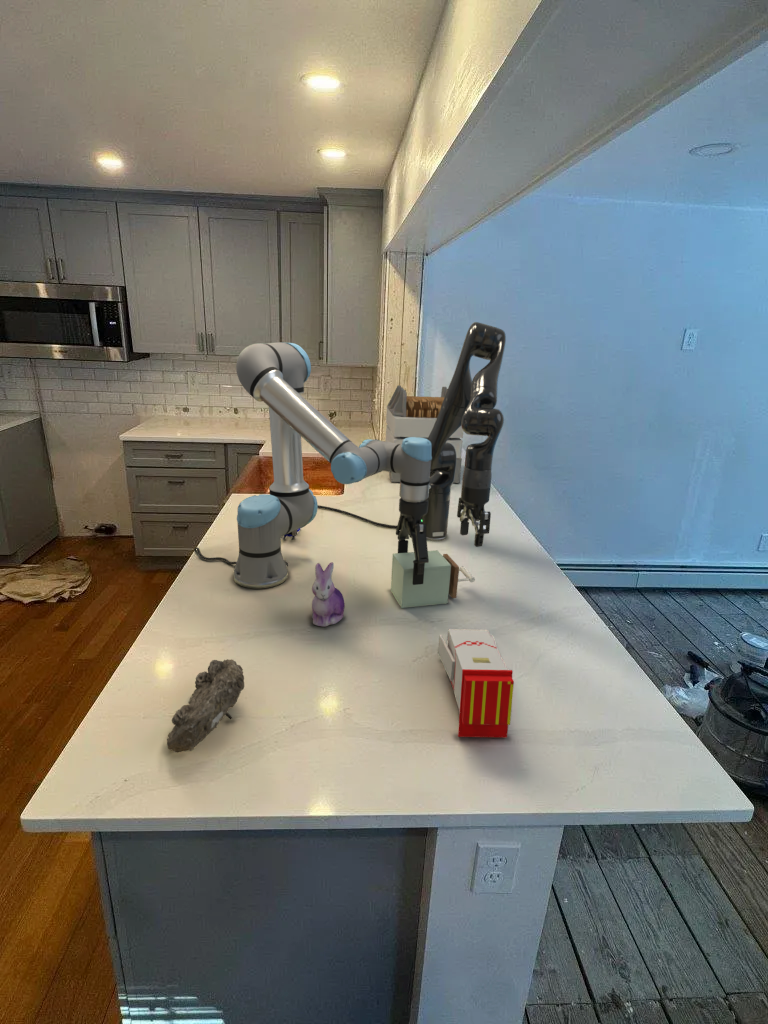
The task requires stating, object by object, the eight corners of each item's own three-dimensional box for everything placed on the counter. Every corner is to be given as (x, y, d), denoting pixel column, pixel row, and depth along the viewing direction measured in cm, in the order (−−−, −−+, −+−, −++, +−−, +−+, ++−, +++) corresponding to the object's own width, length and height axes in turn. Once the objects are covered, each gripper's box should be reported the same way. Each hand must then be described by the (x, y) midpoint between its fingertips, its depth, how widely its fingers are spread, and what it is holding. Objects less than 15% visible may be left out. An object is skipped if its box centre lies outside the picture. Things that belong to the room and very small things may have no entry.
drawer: (462, 581, 164) (464, 552, 161) (474, 596, 156) (478, 565, 153) (405, 587, 160) (407, 556, 157) (415, 602, 152) (417, 570, 149)
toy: (488, 613, 130) (523, 677, 101) (484, 667, 133) (517, 744, 104) (435, 612, 130) (455, 676, 101) (432, 666, 133) (451, 743, 103)
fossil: (192, 660, 117) (244, 628, 112) (224, 691, 120) (276, 661, 115) (142, 746, 98) (202, 712, 93) (182, 779, 101) (242, 748, 96)
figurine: (317, 631, 137) (317, 576, 132) (303, 612, 146) (302, 559, 141) (353, 623, 142) (354, 569, 137) (337, 605, 150) (337, 553, 145)
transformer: (382, 463, 289) (386, 382, 275) (445, 464, 293) (451, 384, 279) (390, 482, 257) (394, 392, 243) (460, 483, 261) (468, 394, 247)
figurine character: (298, 546, 189) (303, 525, 202) (297, 526, 185) (302, 506, 199) (277, 546, 188) (284, 525, 202) (276, 525, 185) (283, 505, 198)
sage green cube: (434, 586, 163) (437, 550, 159) (447, 603, 154) (451, 565, 150) (390, 590, 160) (392, 553, 156) (401, 608, 150) (403, 569, 147)
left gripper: (445, 513, 136) (439, 592, 143) (412, 483, 158) (408, 553, 166) (415, 515, 134) (411, 595, 141) (386, 484, 156) (383, 555, 163)
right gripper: (502, 490, 145) (495, 549, 150) (476, 475, 157) (471, 529, 163) (476, 492, 142) (470, 551, 148) (451, 477, 155) (447, 532, 160)
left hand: (409, 572), depth 153 cm, fingers open, 13 cm apart
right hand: (470, 540), depth 155 cm, fingers open, 8 cm apart
